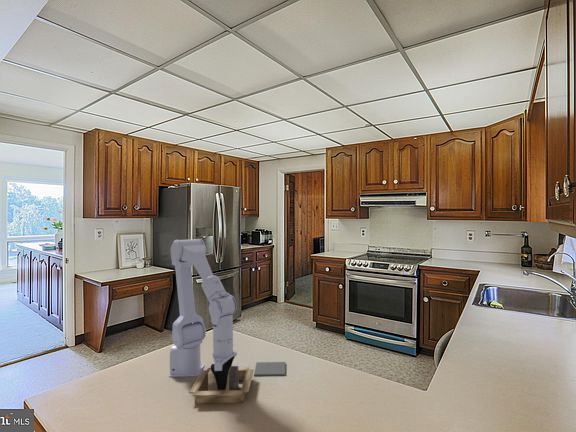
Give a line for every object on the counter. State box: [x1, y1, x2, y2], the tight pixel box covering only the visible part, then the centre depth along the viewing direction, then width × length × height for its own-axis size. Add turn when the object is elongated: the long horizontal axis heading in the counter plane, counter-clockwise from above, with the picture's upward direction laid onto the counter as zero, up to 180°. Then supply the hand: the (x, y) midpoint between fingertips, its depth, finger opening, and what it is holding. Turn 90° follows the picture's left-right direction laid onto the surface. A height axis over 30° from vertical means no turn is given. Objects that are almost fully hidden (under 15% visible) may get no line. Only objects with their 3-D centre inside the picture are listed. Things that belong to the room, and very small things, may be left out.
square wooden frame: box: [188, 366, 255, 404], centre depth 94 cm, size 16×16×3 cm
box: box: [207, 365, 240, 391], centre depth 94 cm, size 8×4×6 cm, turn 90°
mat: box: [253, 361, 286, 377], centre depth 107 cm, size 10×9×1 cm
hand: (223, 384), depth 94 cm, fingers closed on box, 4 cm apart
